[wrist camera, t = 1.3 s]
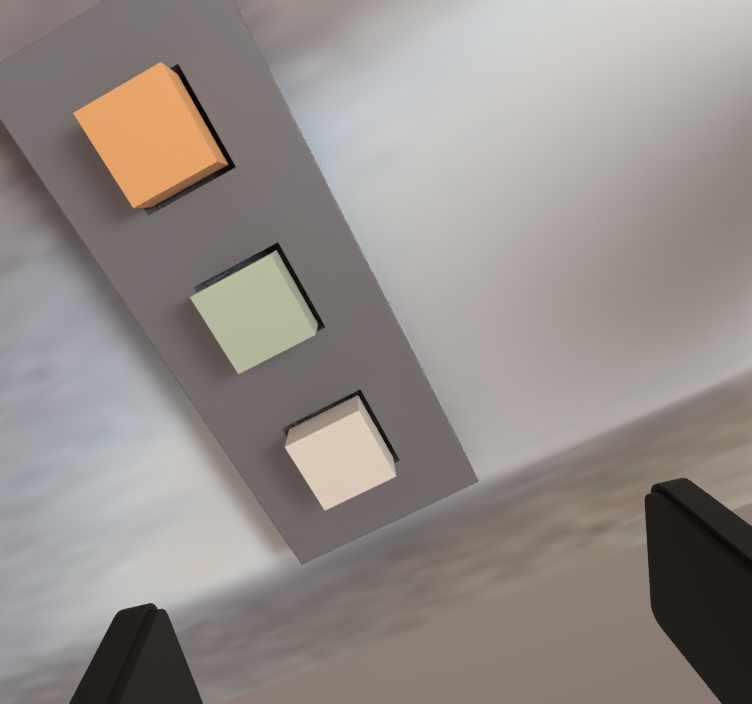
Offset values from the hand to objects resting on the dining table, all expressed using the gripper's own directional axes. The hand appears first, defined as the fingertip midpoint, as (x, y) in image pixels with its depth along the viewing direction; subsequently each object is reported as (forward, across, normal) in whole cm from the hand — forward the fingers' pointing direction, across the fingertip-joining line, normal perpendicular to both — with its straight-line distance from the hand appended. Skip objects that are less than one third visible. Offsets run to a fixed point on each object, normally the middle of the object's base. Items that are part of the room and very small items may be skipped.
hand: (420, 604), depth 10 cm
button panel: (+21, +4, -3) cm, 22 cm away
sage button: (+19, +5, -3) cm, 20 cm away
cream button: (+19, +2, +5) cm, 20 cm away
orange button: (+19, +7, -12) cm, 24 cm away
